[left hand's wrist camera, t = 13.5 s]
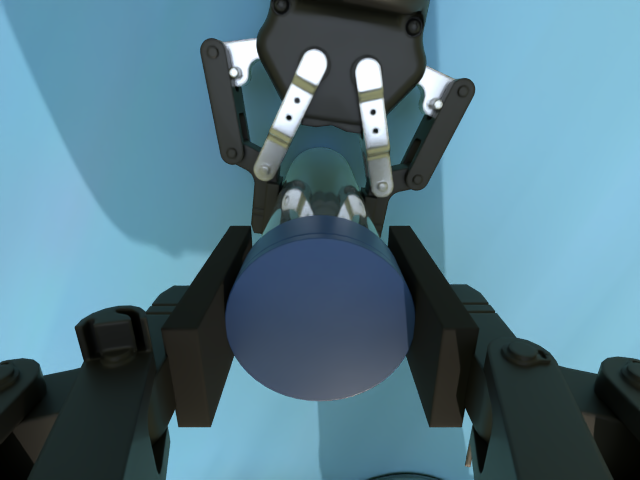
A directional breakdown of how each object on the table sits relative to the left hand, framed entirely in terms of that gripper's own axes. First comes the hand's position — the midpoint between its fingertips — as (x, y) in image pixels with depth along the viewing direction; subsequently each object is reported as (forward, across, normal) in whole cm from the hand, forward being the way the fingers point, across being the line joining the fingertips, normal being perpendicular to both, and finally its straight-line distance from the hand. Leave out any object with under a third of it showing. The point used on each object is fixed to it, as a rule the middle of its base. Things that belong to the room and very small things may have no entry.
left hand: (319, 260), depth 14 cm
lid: (-4, 0, 0) cm, 4 cm away
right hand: (+8, 0, -3) cm, 9 cm away
